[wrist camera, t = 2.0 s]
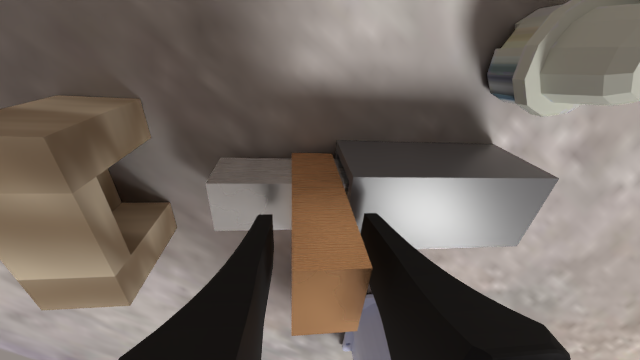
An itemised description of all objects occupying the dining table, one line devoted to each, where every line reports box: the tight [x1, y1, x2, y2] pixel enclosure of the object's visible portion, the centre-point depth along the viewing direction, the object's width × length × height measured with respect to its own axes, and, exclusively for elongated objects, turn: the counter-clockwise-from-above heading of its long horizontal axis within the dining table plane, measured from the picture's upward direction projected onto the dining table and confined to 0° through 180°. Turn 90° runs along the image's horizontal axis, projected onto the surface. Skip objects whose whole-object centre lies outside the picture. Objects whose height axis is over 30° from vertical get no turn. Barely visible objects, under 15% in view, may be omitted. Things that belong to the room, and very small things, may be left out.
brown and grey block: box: [205, 153, 373, 336], centre depth 13 cm, size 4×16×9 cm, turn 86°
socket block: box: [0, 95, 177, 310], centre depth 13 cm, size 9×4×6 cm, turn 176°
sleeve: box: [335, 141, 559, 249], centre depth 15 cm, size 5×11×5 cm, turn 86°
